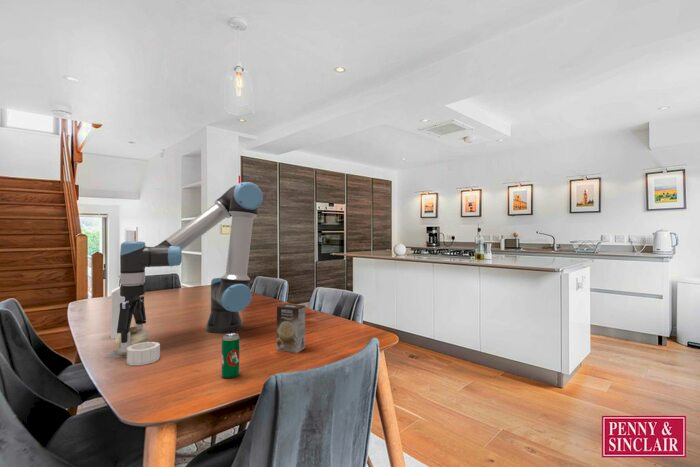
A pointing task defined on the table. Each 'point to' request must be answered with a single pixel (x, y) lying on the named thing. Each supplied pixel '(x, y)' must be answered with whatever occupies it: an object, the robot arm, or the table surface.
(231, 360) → the soda can
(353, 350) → the table surface
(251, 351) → the table surface
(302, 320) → the coffee box
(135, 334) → the beige round piece
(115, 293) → the milk
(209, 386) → the table surface
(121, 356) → the mat
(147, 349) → the bowl
